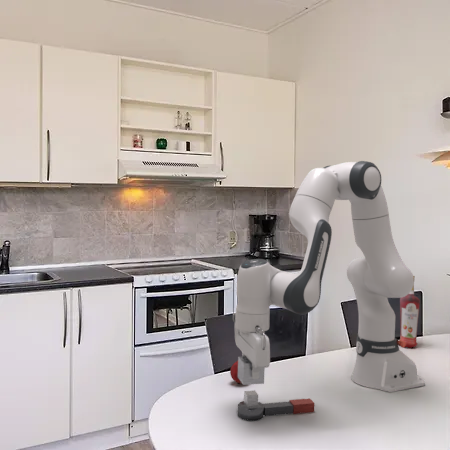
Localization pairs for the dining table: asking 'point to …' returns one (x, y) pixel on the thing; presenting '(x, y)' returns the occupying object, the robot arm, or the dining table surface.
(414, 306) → the liquor
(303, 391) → the dining table surface
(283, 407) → the ratchet
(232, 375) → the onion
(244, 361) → the gray cube
